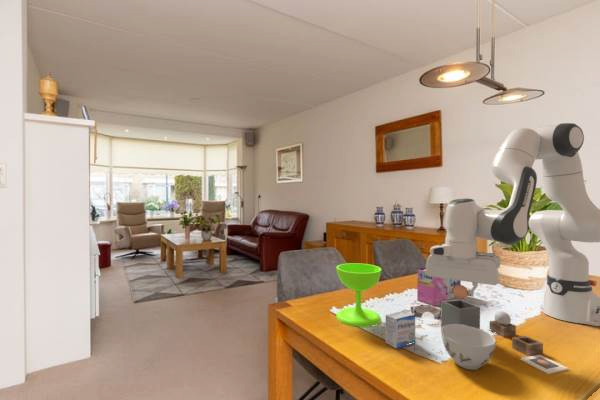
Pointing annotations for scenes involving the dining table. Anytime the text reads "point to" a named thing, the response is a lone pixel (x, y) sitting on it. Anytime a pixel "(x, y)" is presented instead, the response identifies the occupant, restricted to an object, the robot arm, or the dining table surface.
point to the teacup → (468, 345)
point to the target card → (544, 364)
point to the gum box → (433, 288)
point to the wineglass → (358, 293)
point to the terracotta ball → (460, 292)
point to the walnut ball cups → (518, 339)
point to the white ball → (502, 318)
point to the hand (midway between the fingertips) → (460, 294)
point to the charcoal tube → (460, 313)
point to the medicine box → (400, 329)
